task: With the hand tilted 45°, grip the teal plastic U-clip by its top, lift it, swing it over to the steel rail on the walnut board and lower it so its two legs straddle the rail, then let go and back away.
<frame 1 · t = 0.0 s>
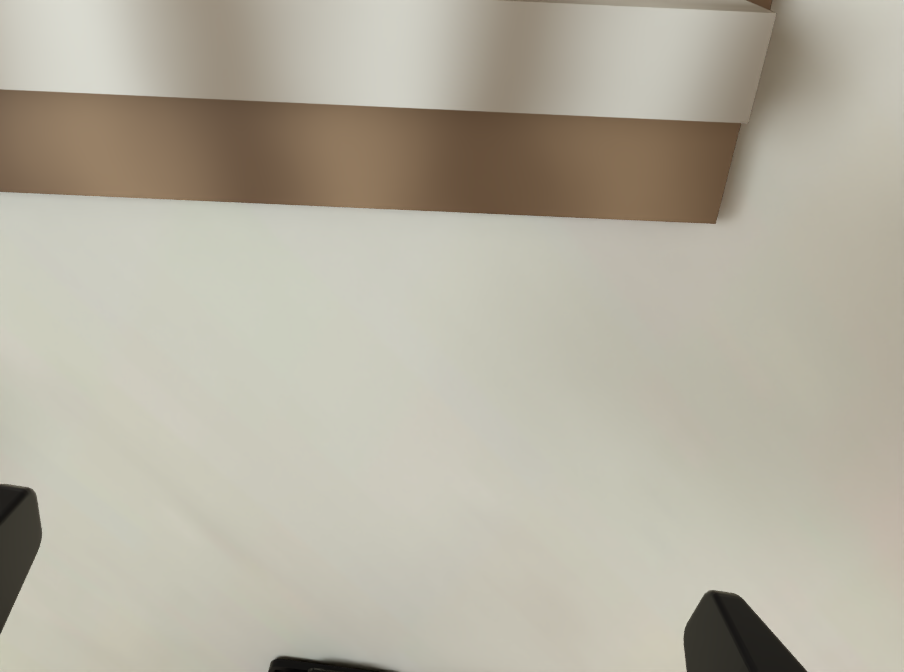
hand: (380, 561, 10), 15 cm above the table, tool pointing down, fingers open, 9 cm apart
rail board: (273, 18, 20), on the table
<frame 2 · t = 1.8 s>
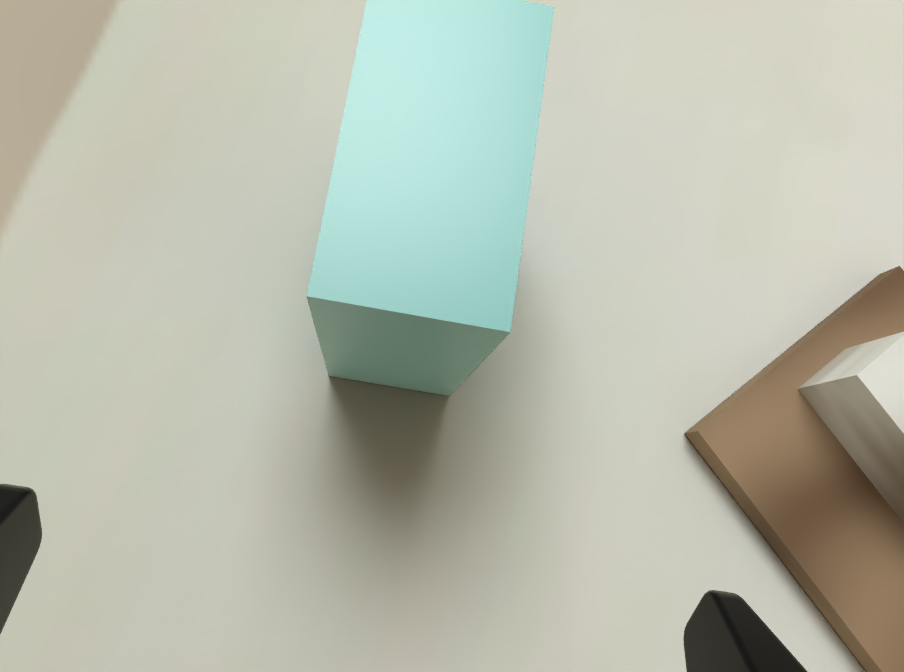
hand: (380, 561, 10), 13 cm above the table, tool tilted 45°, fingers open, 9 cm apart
clip: (407, 279, 24), on the table
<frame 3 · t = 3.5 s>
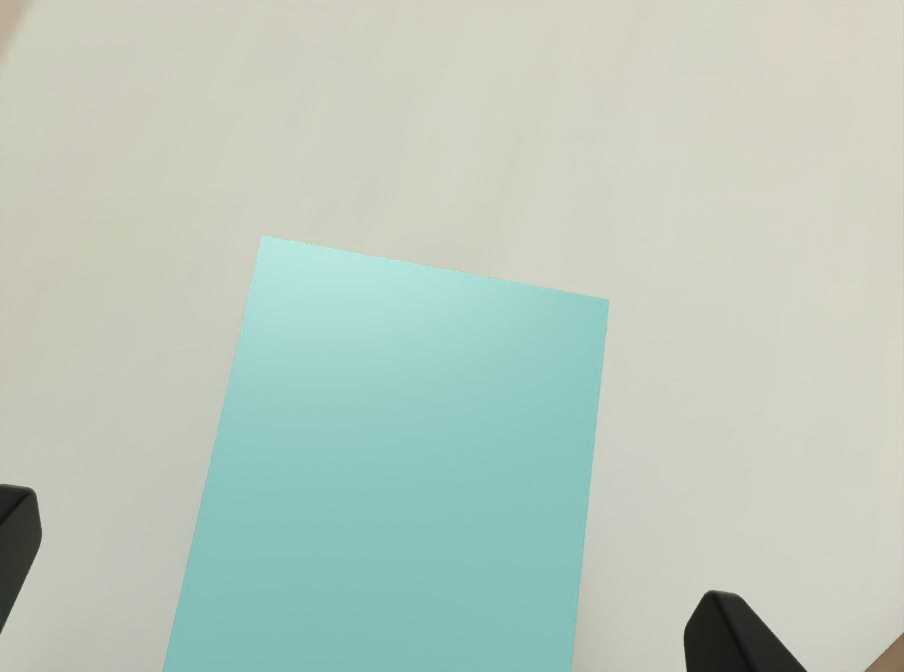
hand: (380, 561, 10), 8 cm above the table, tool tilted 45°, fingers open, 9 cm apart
clip: (369, 545, 17), on the table
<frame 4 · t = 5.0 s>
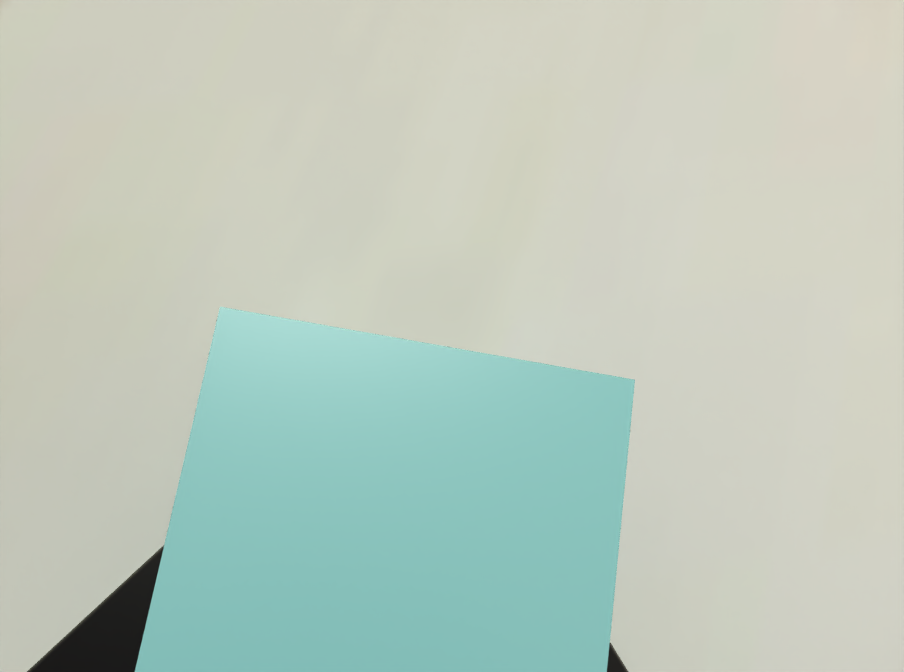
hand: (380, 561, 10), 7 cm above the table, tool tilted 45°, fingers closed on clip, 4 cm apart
clip: (361, 597, 16), on the table, touching gripper
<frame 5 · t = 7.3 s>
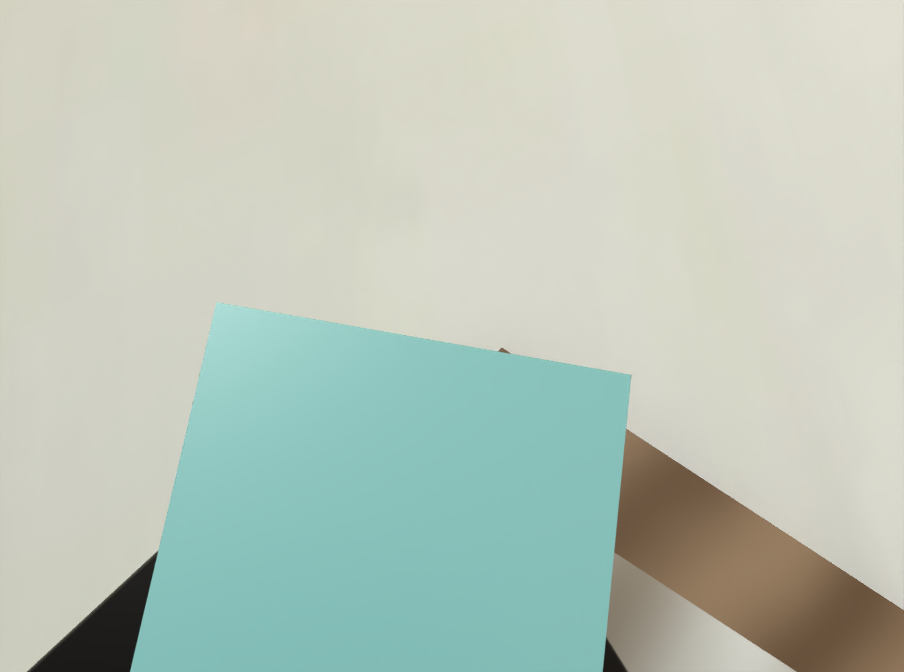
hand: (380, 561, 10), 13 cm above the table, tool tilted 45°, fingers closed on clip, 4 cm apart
clip: (359, 595, 16), point 6 cm above the table, touching gripper
when the fingers open (9 cm above the table, at t = 9.8 s): clip drops 1 cm, resting on rail board.
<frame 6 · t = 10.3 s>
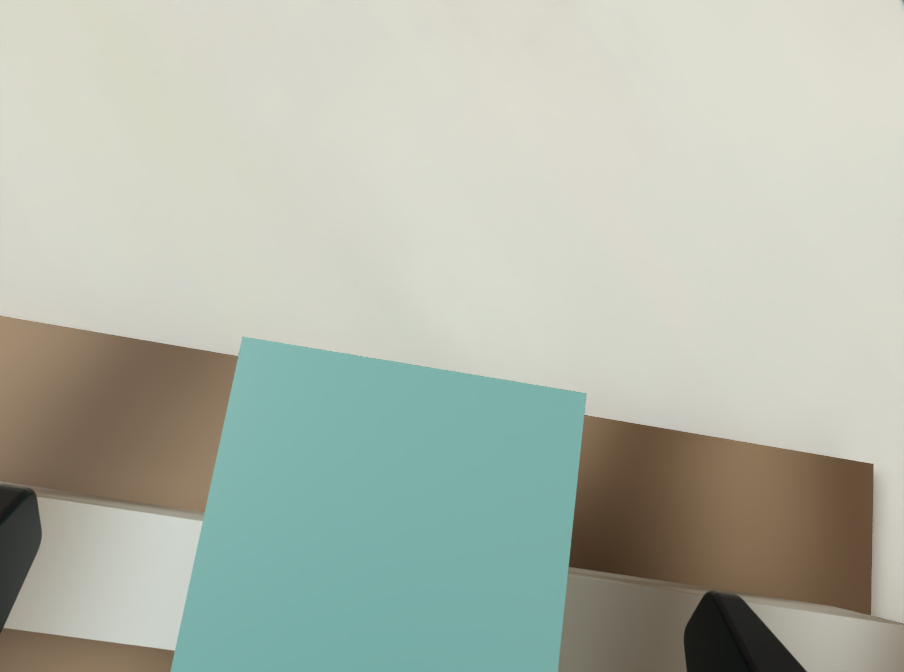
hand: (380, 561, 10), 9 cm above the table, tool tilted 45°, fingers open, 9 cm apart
clip: (361, 586, 17), point 1 cm above the table, touching rail board
rail board: (361, 583, 18), on the table
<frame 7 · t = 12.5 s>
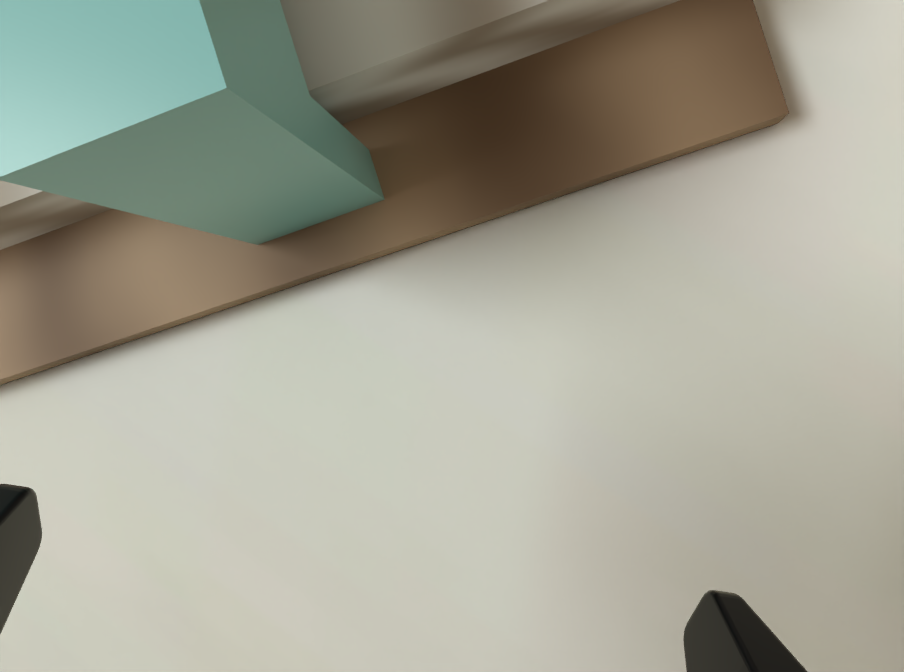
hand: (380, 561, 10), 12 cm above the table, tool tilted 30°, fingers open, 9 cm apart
clip: (281, 101, 21), point 1 cm above the table, touching rail board
rail board: (294, 112, 22), on the table
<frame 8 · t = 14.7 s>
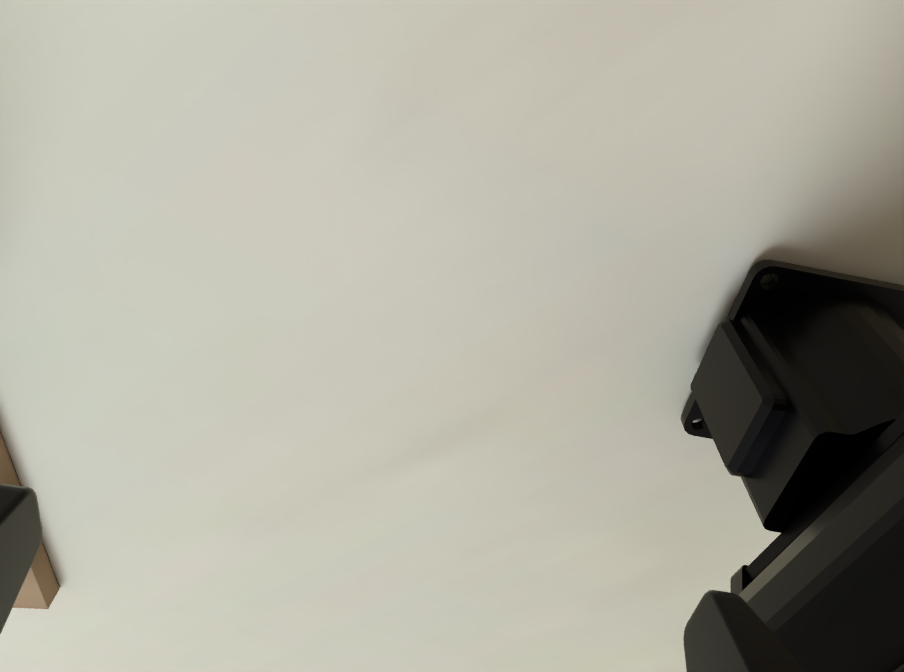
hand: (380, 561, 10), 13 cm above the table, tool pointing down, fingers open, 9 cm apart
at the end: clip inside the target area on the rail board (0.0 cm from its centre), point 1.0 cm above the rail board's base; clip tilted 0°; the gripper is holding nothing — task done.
